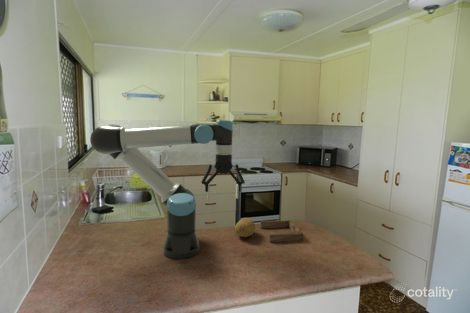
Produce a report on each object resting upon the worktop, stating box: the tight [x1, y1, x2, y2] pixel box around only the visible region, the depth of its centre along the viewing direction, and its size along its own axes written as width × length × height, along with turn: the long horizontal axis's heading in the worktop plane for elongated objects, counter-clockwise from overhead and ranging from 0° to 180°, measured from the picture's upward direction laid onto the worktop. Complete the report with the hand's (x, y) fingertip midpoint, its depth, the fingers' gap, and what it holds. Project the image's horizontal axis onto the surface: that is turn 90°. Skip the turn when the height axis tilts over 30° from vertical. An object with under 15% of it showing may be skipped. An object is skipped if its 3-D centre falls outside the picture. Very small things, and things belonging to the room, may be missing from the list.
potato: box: [234, 217, 256, 238], centre depth 137 cm, size 10×14×8 cm
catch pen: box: [260, 219, 304, 243], centre depth 140 cm, size 18×16×4 cm
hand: (222, 198), depth 134 cm, fingers open, 13 cm apart
